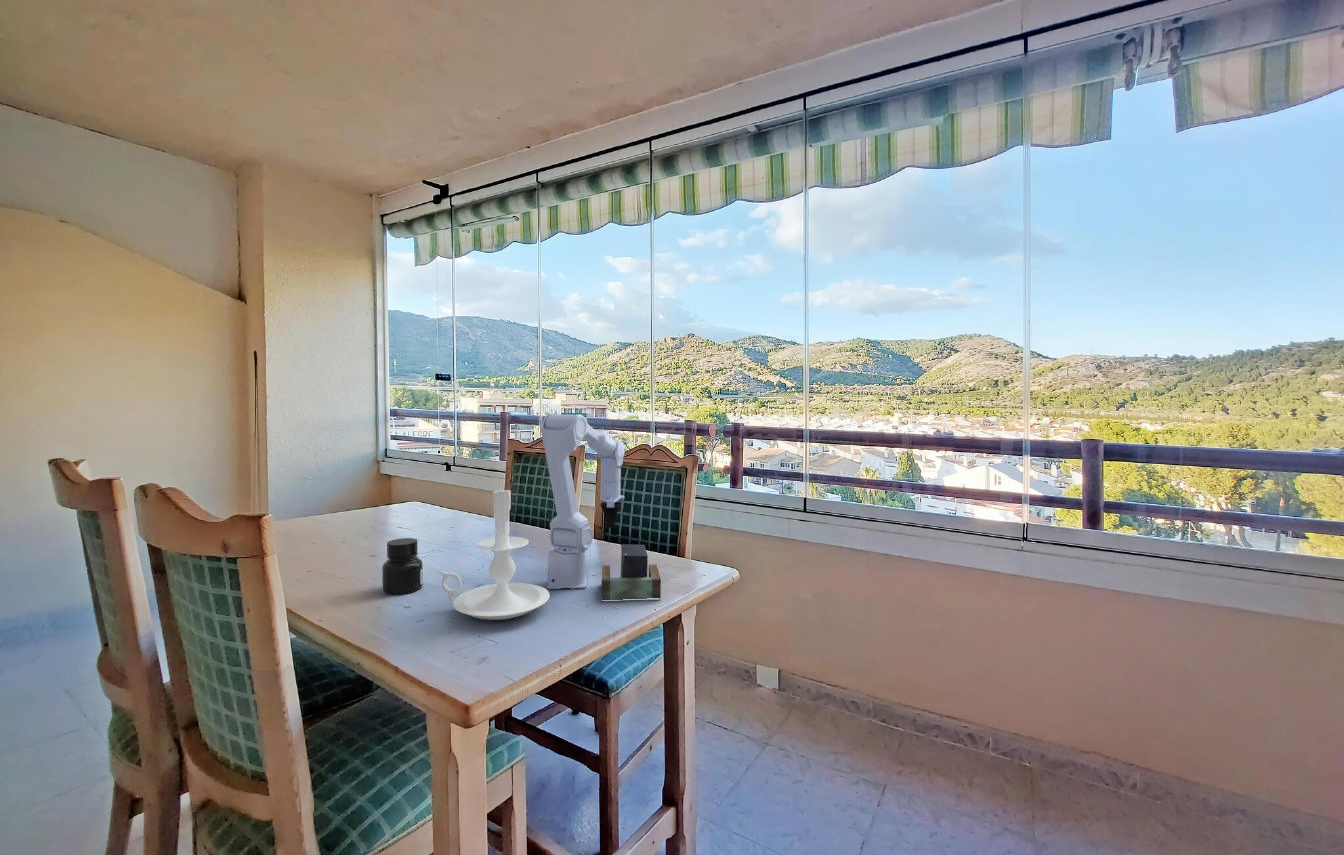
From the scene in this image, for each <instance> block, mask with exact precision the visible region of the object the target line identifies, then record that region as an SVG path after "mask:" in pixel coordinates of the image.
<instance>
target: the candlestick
mask: <svg viewBox="0 0 1344 855" xmlns="http://www.w3.org/2000/svg"><path fill="white" fill-rule="evenodd" d="M511 496H512V493H511V490H510V489H505V490H502V489H501V487H499V490H495V491H492V500H493V501H492V502H493V503H492V508H493V518H492V519H493V520H494V537H490V538H489V537H488V538H485V539H481V540H479V541H477V542H475V544H474V546H475V547H476V549H477V548H478V549H480V550H485V551H491V552H493V554H494V556H493V559H492V560H491V562H490V564H489V567H488V573H489V575H490V578H491V579H492V581H494V583H490V584H485V585H481V586H478V587H475V588H470V589H468V590H467V591H466V590H465V591H464V592H462V593H461V594H459V595H457V596H456V597H454V594H455V593H457V592H459V591H460V589H461V588H462V586H463V580H462V578H461V576H460V575H459V573H457V572H447V571H444V570H443V571H442V570H440V571H439V572H438V574H440V575H441V576H442V578H441V582H440V584H441V587H442V589H443V591H445V593H446V594H447V596H448V600H449V601H451V602H452V606H453V608H454V609H455V610H456V611H457V612H459V613H462V614H464V615H468V616H470V617H473V618H474V619H475V618H476V619H480V620H488V621H498V620H499V621H500V620H509V619H514V618H517V617H521V616H523V615H526V614H528V613H530V612H532V611H534V610H536V609H537V608H539V607H541V606H543V605H544V604H546V603H547V601H549V599H550V592H549V591H548V590H547V589H546V588H544V587H543V586H540V585H538V584H534V583H527V582H510V581H511V580H512V578H513V577H514V575H515V572H516V570H517V569H516V568H517V567H516V562H515V561H514V560H513V558H512V556H511V553H512V551H513V550H515V549H520V548H522V547H525V546H527V545H528V544H529V542H530V541H529V540H528V539H527V538H525V537H520V536H510V532H511V530H510V510H511V507H512V506H511V505H512V500H511ZM449 577H453V578H455V579H456V581H457V587H455V589H452V588H449V587H448V586H447V585H446V580H447V578H449Z"/></svg>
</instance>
